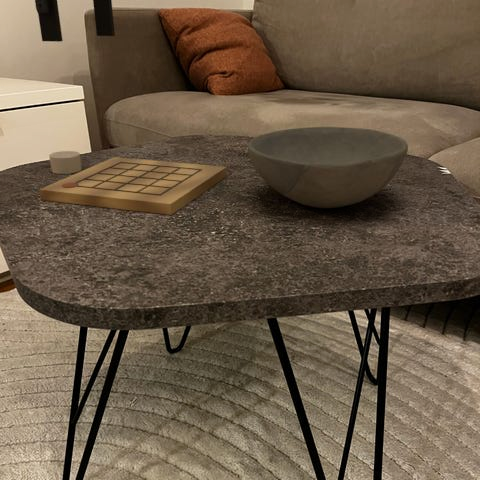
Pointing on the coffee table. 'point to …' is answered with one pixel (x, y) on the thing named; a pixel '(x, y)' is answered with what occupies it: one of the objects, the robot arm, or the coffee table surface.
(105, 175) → the board
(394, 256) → the coffee table surface
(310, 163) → the bowl
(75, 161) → the stone
